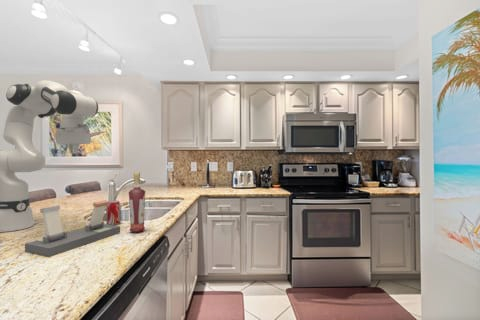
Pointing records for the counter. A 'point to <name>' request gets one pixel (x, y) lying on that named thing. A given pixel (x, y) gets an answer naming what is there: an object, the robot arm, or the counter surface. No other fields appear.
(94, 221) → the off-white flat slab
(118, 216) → the soda can
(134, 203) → the liquor
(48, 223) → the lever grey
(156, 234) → the counter surface
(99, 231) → the switch board
